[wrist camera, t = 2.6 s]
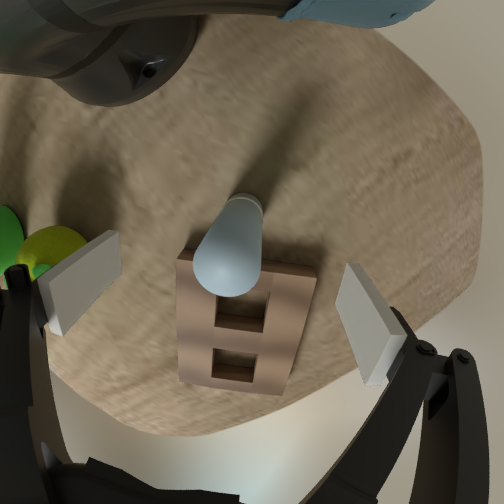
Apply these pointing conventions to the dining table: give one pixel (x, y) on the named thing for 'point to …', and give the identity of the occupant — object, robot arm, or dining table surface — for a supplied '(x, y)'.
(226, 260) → the peg
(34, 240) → the fruit
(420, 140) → the dining table surface
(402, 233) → the dining table surface
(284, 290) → the board
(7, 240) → the bottle
